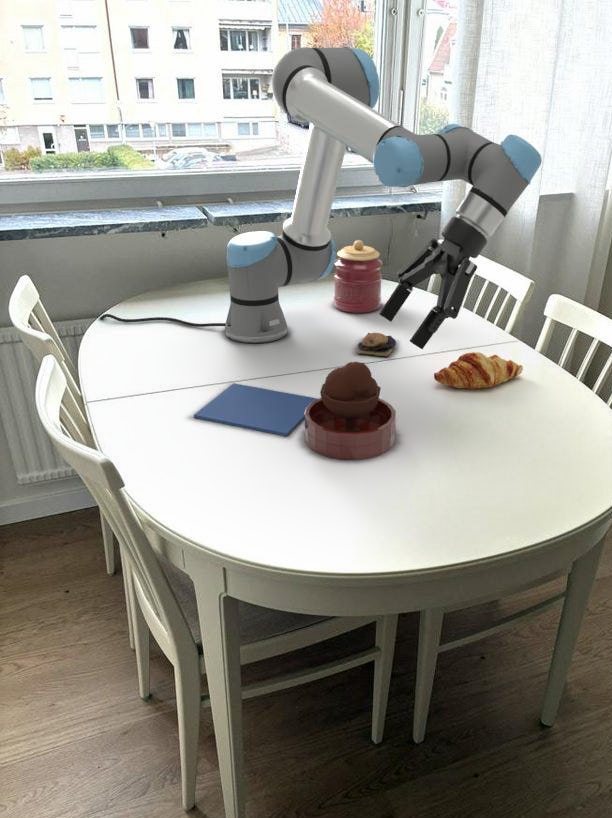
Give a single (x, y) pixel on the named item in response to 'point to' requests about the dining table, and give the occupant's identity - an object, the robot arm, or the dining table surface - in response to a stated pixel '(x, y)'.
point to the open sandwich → (376, 344)
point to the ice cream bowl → (350, 393)
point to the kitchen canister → (358, 279)
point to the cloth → (257, 409)
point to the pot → (350, 444)
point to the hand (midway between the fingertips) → (399, 331)
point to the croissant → (477, 371)
